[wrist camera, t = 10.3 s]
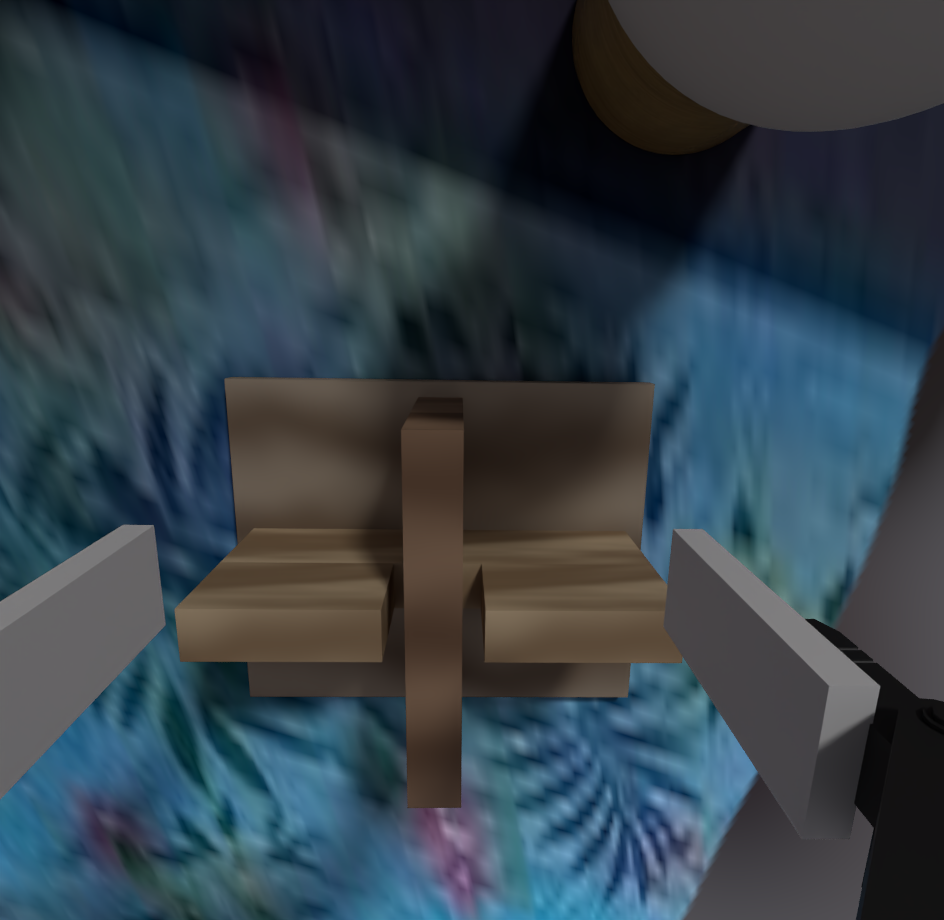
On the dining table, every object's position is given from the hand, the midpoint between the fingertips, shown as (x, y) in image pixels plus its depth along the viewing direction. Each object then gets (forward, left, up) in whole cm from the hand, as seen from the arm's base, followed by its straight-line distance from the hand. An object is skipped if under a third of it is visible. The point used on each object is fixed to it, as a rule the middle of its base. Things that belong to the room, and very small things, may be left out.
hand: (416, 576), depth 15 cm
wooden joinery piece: (+7, 0, -20) cm, 22 cm away
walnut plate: (+7, 0, -19) cm, 21 cm away
